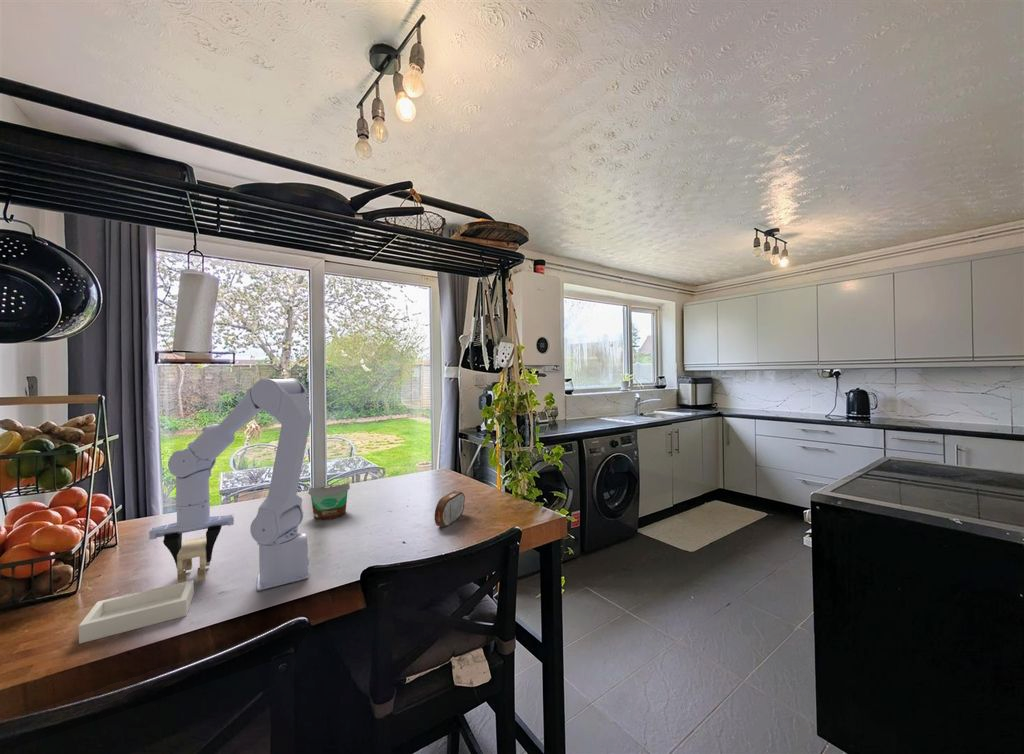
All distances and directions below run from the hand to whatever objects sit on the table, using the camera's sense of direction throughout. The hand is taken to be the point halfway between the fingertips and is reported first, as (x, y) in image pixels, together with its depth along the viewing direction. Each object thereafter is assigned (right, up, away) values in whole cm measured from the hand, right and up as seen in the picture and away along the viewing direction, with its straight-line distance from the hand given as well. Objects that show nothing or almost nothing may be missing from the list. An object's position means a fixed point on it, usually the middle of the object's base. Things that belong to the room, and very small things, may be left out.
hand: (194, 563), depth 87 cm
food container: (+14, -3, +37) cm, 39 cm away
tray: (+2, -3, -14) cm, 15 cm away
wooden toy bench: (0, -2, 0) cm, 2 cm away
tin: (+52, -3, +31) cm, 61 cm away
